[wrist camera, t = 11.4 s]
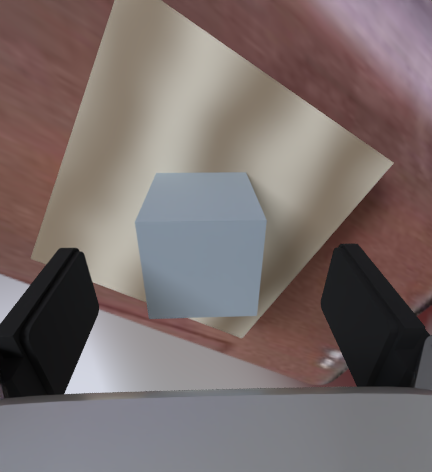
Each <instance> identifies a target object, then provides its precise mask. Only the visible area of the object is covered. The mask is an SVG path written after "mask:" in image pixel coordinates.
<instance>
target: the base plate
mask: <svg viewBox="0 0 432 472" xmlns="http://www.w3.org/2000/svg"><path fill="white" fill-rule="evenodd" d="M392 164H393V162H392V161H390V160H389V159H387V158H386V157H384V156H383V155H382V154H380V153H379V152H377V151H376V150H374V149H373V148H372V147H370V146H369V145H367V144H366V143H364V142H363V141H362V140H360V139H359V138H357V137H356V136H354V135H353V134H352V133H350V132H349V131H347V130H346V129H344V128H343V127H341V126H340V125H339V124H337V123H336V122H334V121H333V120H331V119H330V118H329V117H327V116H326V115H324V114H323V113H321V112H320V111H319V110H317V109H316V108H314V107H313V106H311V105H310V104H309V103H307V102H306V101H304V100H303V99H301V98H300V97H299V96H297V95H296V94H294V93H293V92H291V91H290V90H289V89H287V88H286V87H284V86H283V85H281V84H280V83H278V82H277V81H276V80H274V79H273V78H271V77H270V76H268V75H267V74H266V73H264V72H263V71H261V70H260V69H258V68H257V67H256V66H254V65H253V64H251V63H250V62H248V61H247V60H246V59H244V58H243V57H241V56H240V55H238V54H237V53H236V52H234V51H233V50H231V49H230V48H228V47H227V46H226V45H224V44H223V43H221V42H220V41H218V40H217V39H215V38H214V37H213V36H211V35H210V34H208V33H207V32H205V31H204V30H203V29H201V28H200V27H198V26H197V25H195V24H194V23H193V22H191V21H190V20H188V19H187V18H185V17H184V16H183V15H181V14H180V13H178V12H177V11H175V10H174V9H173V8H171V7H170V6H168V5H167V4H165V3H164V2H163V1H161V0H115V1H114V5H113V8H112V11H111V14H110V17H109V20H108V23H107V26H106V29H105V32H104V35H103V38H102V41H101V44H100V47H99V51H98V54H97V57H96V60H95V63H94V66H93V69H92V72H91V75H90V78H89V81H88V84H87V87H86V90H85V93H84V97H83V100H82V103H81V106H80V109H79V112H78V115H77V118H76V121H75V124H74V127H73V130H72V133H71V136H70V139H69V143H68V146H67V149H66V152H65V155H64V158H63V161H62V164H61V167H60V170H59V173H58V176H57V179H56V182H55V185H54V189H53V192H52V195H51V198H50V201H49V204H48V207H47V210H46V213H45V216H44V219H43V222H42V225H41V228H40V231H39V235H38V238H37V241H36V244H35V247H34V250H33V253H32V256H31V259H33V260H35V261H38V262H41V263H43V264H47V263H48V262H49V261H50V259H51V258H52V257H53V255H54V254H55V253H56V252H57V250H58V249H59V248H78V249H79V251H82V252H83V253H84V255H85V258H86V262H87V265H88V269H89V272H90V276H91V279H92V282H94V283H96V284H99V285H102V286H104V287H107V288H110V289H112V290H115V291H118V292H120V293H123V294H126V295H128V296H131V297H134V298H136V299H139V300H142V301H144V302H147V301H146V294H145V288H144V281H143V274H142V267H141V261H140V254H139V247H138V240H137V233H136V227H135V220H136V218H137V216H138V214H139V211H140V209H141V207H142V204H143V202H144V200H145V198H146V195H147V193H148V191H149V188H150V186H151V184H152V182H153V179H154V177H155V175H156V173H218V172H246V173H247V176H248V178H249V180H250V183H251V185H252V187H253V190H254V192H255V194H256V197H257V199H258V201H259V203H260V206H261V208H262V210H263V213H264V215H265V217H266V220H267V222H266V232H265V242H264V252H263V261H262V271H261V281H260V290H259V300H258V310H257V316H235V317H199V318H189V319H192V320H195V321H197V322H200V323H202V324H205V325H208V326H210V327H213V328H216V329H218V330H221V331H224V332H226V333H229V334H232V335H234V336H237V337H240V338H243V337H244V336H245V334H246V333H247V332H248V331H249V330H250V329H251V327H252V326H253V325H254V324H255V323H256V322H257V320H258V319H259V318H260V317H261V316H262V315H263V314H264V312H265V311H266V310H267V309H268V308H269V307H270V305H271V304H272V303H273V302H274V301H275V300H276V299H277V297H278V296H279V295H280V294H281V293H282V292H283V290H284V289H285V288H286V287H287V286H288V285H289V283H290V282H291V281H292V280H293V279H294V278H295V277H296V275H297V274H298V273H299V272H300V271H301V270H302V268H303V267H304V266H305V265H306V264H307V263H308V262H309V260H310V259H311V258H312V257H313V256H314V255H315V253H316V252H317V251H318V250H319V249H320V248H321V246H322V245H323V244H324V243H325V242H326V241H327V240H328V238H329V237H330V236H331V235H332V234H333V233H334V231H335V230H336V229H337V228H338V227H339V226H340V225H341V223H342V222H343V221H344V220H345V219H346V218H347V216H348V215H349V214H350V213H351V212H352V211H353V209H354V208H355V207H356V206H357V205H358V204H359V203H360V201H361V200H362V199H363V198H364V197H365V196H366V194H367V193H368V192H369V191H370V190H371V189H372V187H373V186H374V185H375V184H376V183H377V182H378V181H379V179H380V178H381V177H382V176H383V175H384V174H385V172H386V171H387V170H388V169H389V168H390V167H391V166H392Z"/></svg>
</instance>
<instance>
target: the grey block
mask: <svg viewBox="0 0 432 472" xmlns="http://www.w3.org/2000/svg"><path fill="white" fill-rule="evenodd" d="M266 222H267V220H266V217H265V215H264V213H263V210H262V208H261V206H260V203H259V201H258V199H257V197H256V194H255V192H254V190H253V187H252V185H251V183H250V180H249V178H248V176H247V173H246V172H218V173H156V175H155V177H154V179H153V182H152V184H151V186H150V188H149V191H148V193H147V195H146V198H145V200H144V202H143V204H142V207H141V209H140V211H139V214H138V216H137V218H136V220H135V227H136V233H137V240H138V247H139V254H140V261H141V267H142V274H143V281H144V288H145V294H146V301H147V308H148V315H149V319H162V318H199V317H235V316H257V310H258V300H259V290H260V281H261V271H262V261H263V252H264V242H265V232H266Z"/></svg>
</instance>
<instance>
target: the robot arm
mask: <svg viewBox="0 0 432 472" xmlns="http://www.w3.org/2000/svg"><path fill="white" fill-rule="evenodd" d="M321 308H322V311H323V313H324V315H325V318H326V320H327V322H328V324H329V326H330V328H331V331H332V333H333V335H334V337H335V339H336V342H337V344H338V346H339V348H340V350H341V352H342V355H343V357H344V359H345V361H346V363H347V366H348V368H349V370H350V372H351V374H352V376H353V379H354V381H355V383H356V385H357V387H305V388H260V389H259V388H257V389H216V390H182V391H180V390H179V391H145V392H113V393H84V394H64V393H65V390H66V388H67V386H68V384H69V381H70V379H71V376H72V374H73V372H74V369H75V367H76V365H77V362H78V360H79V358H80V355H81V353H82V351H83V348H84V346H85V344H86V341H87V339H88V337H89V334H90V331H91V330H92V327H93V325H94V322H95V320H96V318H97V315H98V312H99V304H98V300H97V297H96V293H95V290H94V286H93V283H92V279H91V276H90V272H89V269H88V265H87V262H86V258H85V255H84V253H83V252H82V251H79V249H78V248H59V249H58V250H57V252H56V253H55V254H54V255H53V257H52V258H51V259H50V261H49V262H48V263H47V264H46V266H45V267H44V268H43V270H42V271H41V272H40V273H39V275H38V276H37V277H36V279H35V280H34V281H33V282H32V284H31V285H30V286H29V288H28V289H27V290H26V292H25V293H24V294H23V296H22V297H21V298H20V299H19V301H18V302H17V303H16V304H15V306H14V307H13V308H12V310H11V311H10V312H9V313H8V315H7V316H6V317H5V319H4V320H3V321H2V323H1V324H0V472H432V335H431V336H430V334H429V333H428V332H427V331H426V329H425V326H424V325H423V324H422V322H421V321H420V320H419V319H418V317H417V316H416V315H415V314H414V313H413V311H412V310H411V309H410V308H409V306H408V305H407V304H406V303H405V301H404V300H403V299H402V298H401V297H400V295H399V294H398V293H397V292H396V290H395V289H394V288H393V287H392V285H391V284H390V283H389V282H388V281H387V279H386V278H385V277H384V276H383V274H382V273H381V272H380V271H379V269H378V268H377V267H376V266H375V265H374V263H373V262H372V261H371V260H370V258H369V257H368V256H367V255H366V254H365V252H364V251H363V250H362V249H361V247H360V246H359V245H358V244H340V245H339V247H338V248H335V249H334V251H333V255H332V259H331V263H330V267H329V271H328V275H327V279H326V283H325V286H324V290H323V294H322V298H321Z"/></svg>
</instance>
